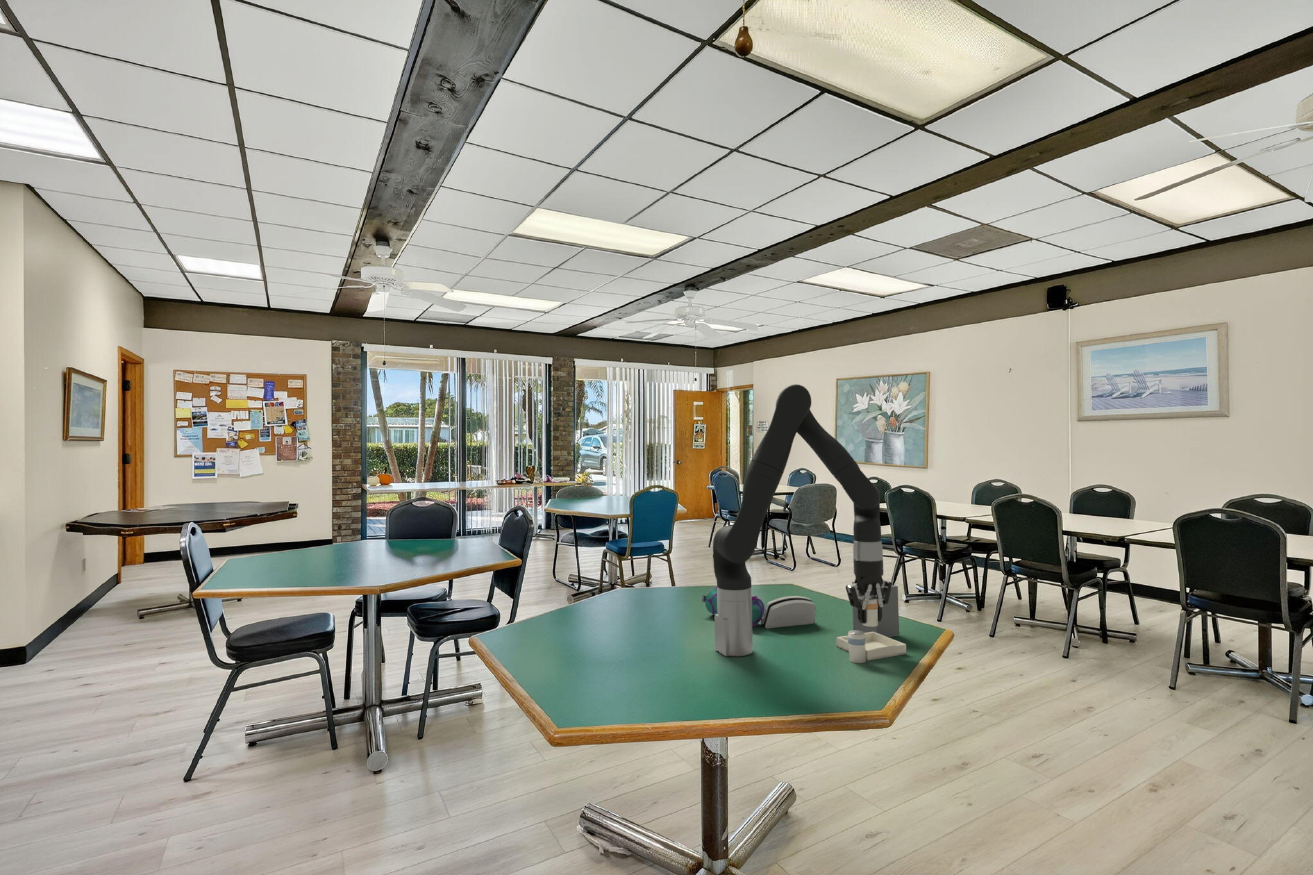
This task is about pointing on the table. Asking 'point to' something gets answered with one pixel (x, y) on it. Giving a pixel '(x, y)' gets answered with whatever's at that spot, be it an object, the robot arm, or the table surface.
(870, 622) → the white orange rounded cylinder
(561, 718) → the table surface
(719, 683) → the table surface
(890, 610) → the control box
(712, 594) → the pencil case
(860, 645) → the blue-band fuse
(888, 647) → the parts tray
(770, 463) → the robot arm
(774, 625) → the white slotted rounded block
